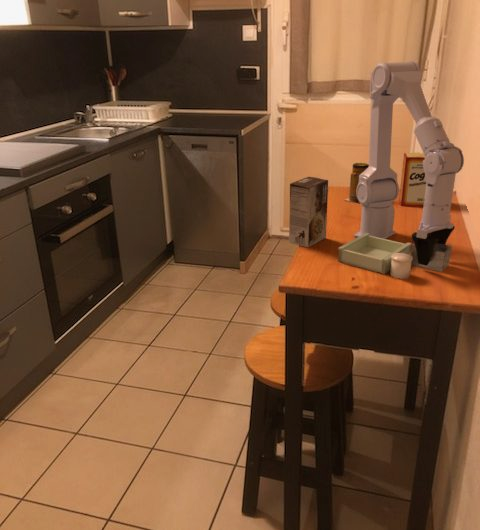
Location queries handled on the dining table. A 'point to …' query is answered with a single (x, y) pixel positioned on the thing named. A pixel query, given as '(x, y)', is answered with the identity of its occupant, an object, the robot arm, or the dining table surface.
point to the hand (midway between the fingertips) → (429, 259)
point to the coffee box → (308, 211)
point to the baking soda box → (412, 180)
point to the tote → (371, 252)
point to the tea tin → (434, 257)
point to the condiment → (355, 180)
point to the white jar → (401, 265)
